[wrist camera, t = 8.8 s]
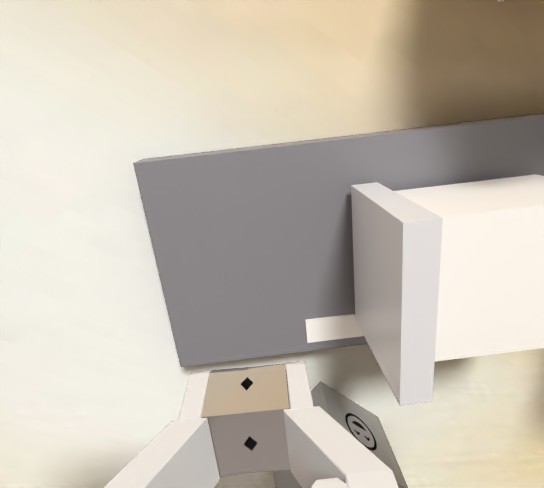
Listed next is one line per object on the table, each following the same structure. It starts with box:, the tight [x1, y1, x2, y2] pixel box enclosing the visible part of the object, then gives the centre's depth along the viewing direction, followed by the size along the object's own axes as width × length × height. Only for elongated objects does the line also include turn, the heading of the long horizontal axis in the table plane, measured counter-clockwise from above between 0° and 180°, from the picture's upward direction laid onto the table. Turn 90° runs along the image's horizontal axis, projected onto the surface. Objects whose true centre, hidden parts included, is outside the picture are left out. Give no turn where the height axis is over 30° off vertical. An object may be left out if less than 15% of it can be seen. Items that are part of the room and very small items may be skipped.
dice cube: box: [274, 382, 408, 488], centre depth 22 cm, size 5×5×5 cm
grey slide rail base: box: [133, 113, 544, 367], centre depth 15 cm, size 28×11×10 cm, turn 96°
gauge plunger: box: [351, 174, 544, 406], centre depth 15 cm, size 12×9×6 cm
